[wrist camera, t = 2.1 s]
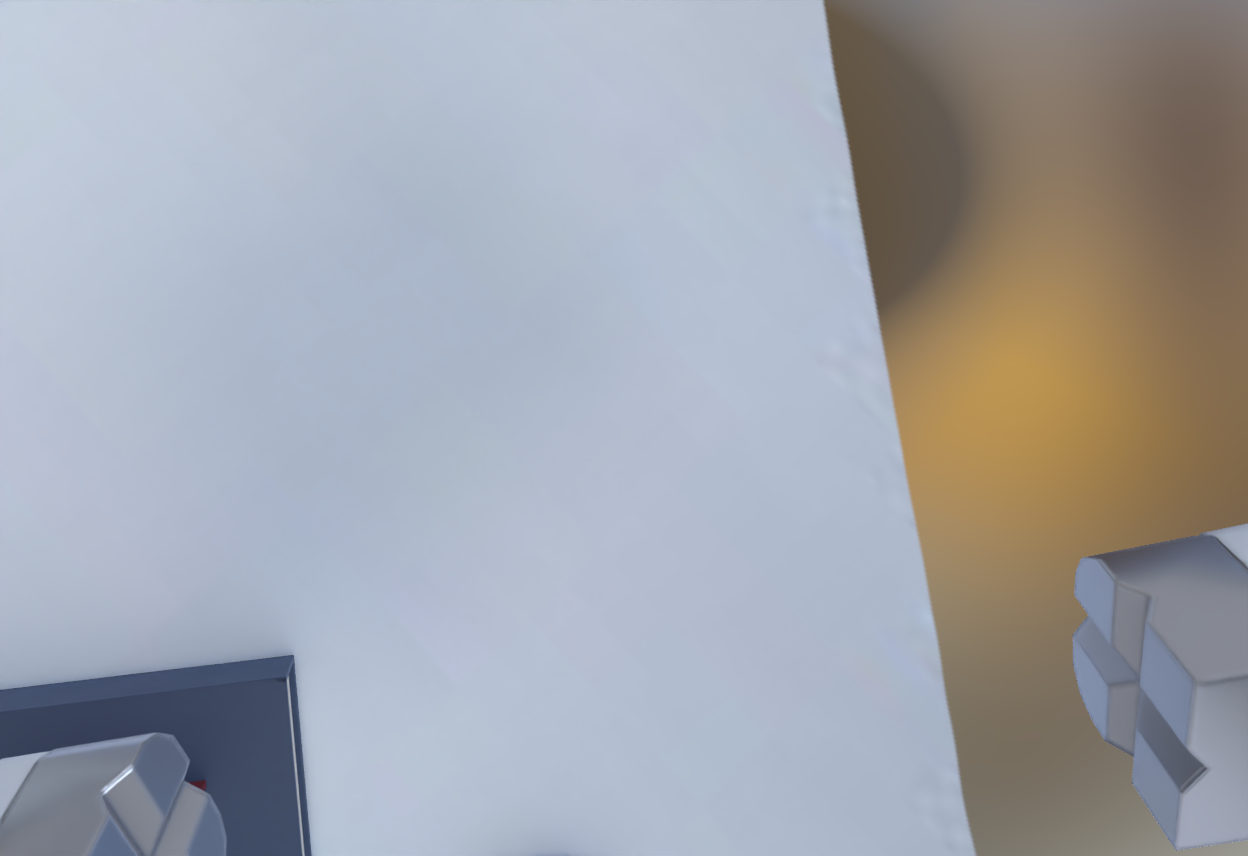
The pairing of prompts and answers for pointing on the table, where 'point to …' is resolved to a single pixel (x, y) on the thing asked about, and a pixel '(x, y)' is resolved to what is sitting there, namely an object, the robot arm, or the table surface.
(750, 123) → the table surface
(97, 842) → the robot arm
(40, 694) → the slate book
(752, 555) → the table surface
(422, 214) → the table surface
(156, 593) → the table surface
